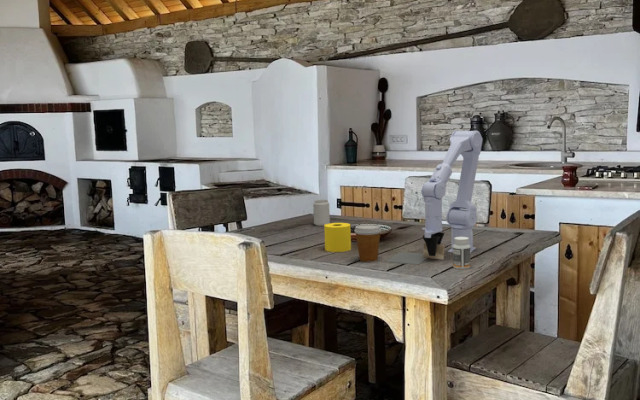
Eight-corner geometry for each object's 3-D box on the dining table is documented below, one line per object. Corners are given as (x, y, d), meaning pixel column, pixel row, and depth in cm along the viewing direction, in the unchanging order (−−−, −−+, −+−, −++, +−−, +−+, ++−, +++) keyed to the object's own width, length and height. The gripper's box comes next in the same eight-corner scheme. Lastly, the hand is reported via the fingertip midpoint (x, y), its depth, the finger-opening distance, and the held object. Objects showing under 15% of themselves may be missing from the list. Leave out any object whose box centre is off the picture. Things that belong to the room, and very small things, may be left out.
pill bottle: (467, 265, 205) (467, 235, 204) (472, 269, 199) (472, 239, 198) (450, 265, 205) (450, 236, 204) (455, 270, 199) (455, 240, 198)
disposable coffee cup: (359, 256, 223) (359, 223, 222) (385, 257, 220) (384, 224, 218) (351, 262, 214) (350, 228, 213) (377, 263, 211) (377, 229, 209)
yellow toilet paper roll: (321, 248, 239) (320, 224, 238) (344, 245, 243) (344, 221, 242) (330, 253, 230) (330, 228, 229) (355, 250, 234) (354, 225, 232)
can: (312, 224, 293) (311, 199, 292) (327, 223, 295) (326, 198, 294) (316, 227, 286) (315, 201, 284) (331, 225, 288) (331, 200, 287)
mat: (400, 253, 226) (400, 251, 226) (432, 255, 221) (432, 254, 221) (385, 262, 212) (385, 261, 212) (418, 265, 207) (418, 264, 207)
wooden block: (424, 256, 218) (425, 242, 217) (443, 259, 215) (444, 245, 214) (423, 257, 216) (423, 243, 216) (442, 260, 213) (443, 246, 212)
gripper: (428, 212, 222) (428, 249, 223) (415, 218, 209) (416, 257, 211) (447, 213, 218) (447, 250, 220) (436, 219, 206) (436, 259, 207)
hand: (433, 254), depth 215 cm, fingers open, 4 cm apart
